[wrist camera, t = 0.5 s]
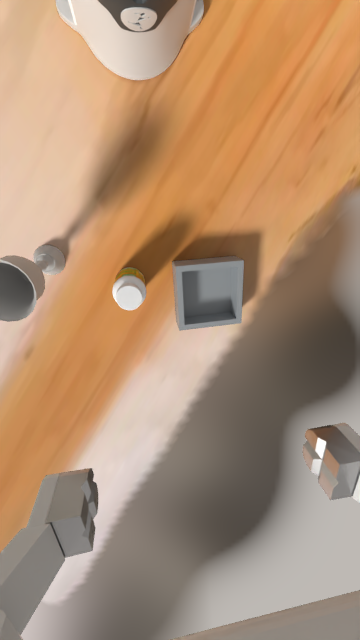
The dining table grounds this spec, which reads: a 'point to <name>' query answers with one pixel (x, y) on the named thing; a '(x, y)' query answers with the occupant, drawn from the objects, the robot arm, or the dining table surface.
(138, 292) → the supplement bottle
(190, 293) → the tray
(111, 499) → the dining table surface
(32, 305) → the chalice
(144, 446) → the dining table surface
